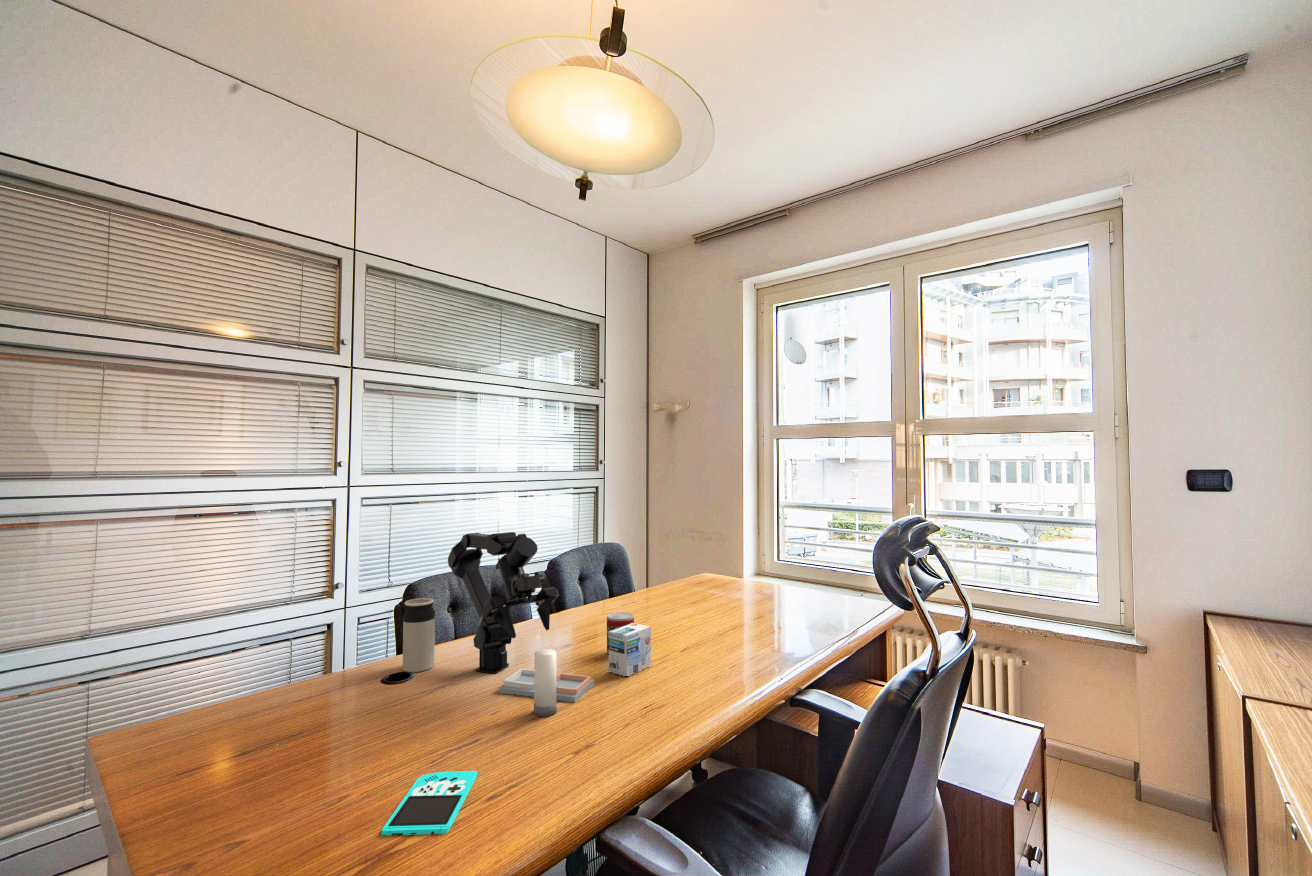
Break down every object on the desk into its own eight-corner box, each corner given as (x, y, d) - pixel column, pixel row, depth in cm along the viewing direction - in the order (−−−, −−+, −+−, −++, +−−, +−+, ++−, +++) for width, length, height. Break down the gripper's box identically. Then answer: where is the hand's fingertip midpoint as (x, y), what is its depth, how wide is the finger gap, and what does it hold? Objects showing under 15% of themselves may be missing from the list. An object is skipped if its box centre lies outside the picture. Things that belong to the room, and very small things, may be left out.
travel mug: (426, 673, 148) (427, 604, 149) (397, 673, 148) (398, 604, 149) (439, 662, 156) (439, 597, 157) (410, 662, 156) (411, 597, 157)
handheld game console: (479, 777, 99) (479, 769, 99) (448, 837, 83) (448, 827, 83) (421, 778, 98) (422, 770, 98) (380, 839, 82) (380, 829, 82)
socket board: (499, 692, 134) (499, 682, 135) (523, 676, 145) (523, 666, 145) (574, 702, 128) (574, 691, 128) (594, 684, 139) (594, 674, 139)
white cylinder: (529, 715, 122) (529, 655, 122) (540, 706, 127) (541, 648, 127) (549, 718, 120) (550, 657, 121) (560, 708, 125) (560, 650, 126)
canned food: (603, 651, 164) (603, 613, 164) (628, 647, 167) (628, 610, 168) (612, 659, 157) (612, 620, 157) (638, 655, 160) (638, 616, 161)
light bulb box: (626, 678, 143) (626, 635, 144) (607, 672, 147) (607, 631, 148) (652, 666, 151) (651, 626, 152) (633, 661, 156) (632, 622, 156)
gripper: (491, 565, 133) (509, 627, 125) (558, 556, 145) (578, 612, 138) (474, 587, 139) (491, 647, 132) (540, 576, 152) (558, 631, 144)
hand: (531, 633), depth 136 cm, fingers open, 9 cm apart
